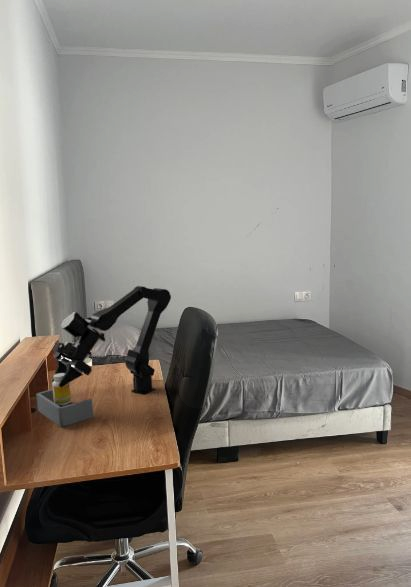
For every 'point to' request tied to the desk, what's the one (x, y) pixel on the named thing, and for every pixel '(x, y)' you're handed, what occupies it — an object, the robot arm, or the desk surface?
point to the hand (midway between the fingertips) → (56, 384)
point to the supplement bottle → (60, 391)
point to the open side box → (63, 409)
